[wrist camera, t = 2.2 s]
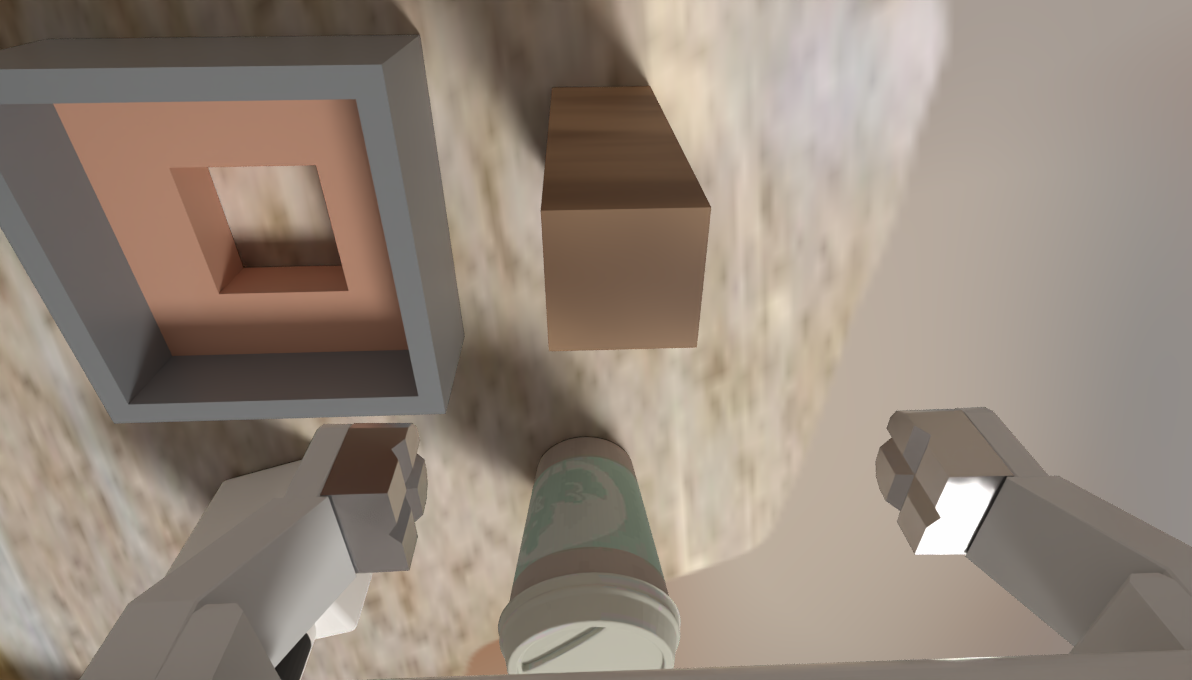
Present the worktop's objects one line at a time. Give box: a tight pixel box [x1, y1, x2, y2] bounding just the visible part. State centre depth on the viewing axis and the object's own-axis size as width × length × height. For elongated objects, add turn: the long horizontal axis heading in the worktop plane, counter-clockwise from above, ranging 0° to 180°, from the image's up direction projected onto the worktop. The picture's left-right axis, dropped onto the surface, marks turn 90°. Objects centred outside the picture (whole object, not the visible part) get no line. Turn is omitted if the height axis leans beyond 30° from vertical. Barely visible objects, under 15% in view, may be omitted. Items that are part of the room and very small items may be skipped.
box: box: [0, 35, 465, 423], centre depth 25 cm, size 14×14×6 cm
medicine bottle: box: [165, 460, 373, 680], centre depth 33 cm, size 7×7×12 cm
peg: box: [541, 86, 711, 351], centre depth 21 cm, size 4×4×13 cm
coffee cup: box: [498, 437, 681, 674], centre depth 33 cm, size 8×8×12 cm
